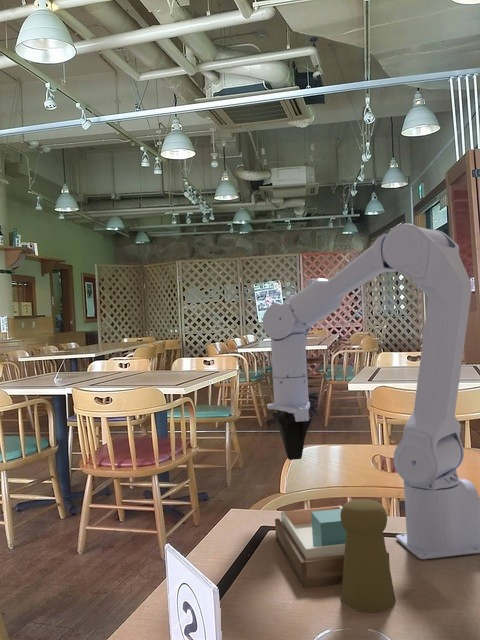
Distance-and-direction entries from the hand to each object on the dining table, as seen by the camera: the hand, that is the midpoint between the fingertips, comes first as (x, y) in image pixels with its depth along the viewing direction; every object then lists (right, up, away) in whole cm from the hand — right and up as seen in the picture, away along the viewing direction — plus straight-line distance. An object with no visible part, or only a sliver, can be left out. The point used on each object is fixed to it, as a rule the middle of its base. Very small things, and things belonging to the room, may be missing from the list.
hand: (294, 458), depth 95 cm
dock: (+3, -9, -17) cm, 19 cm away
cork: (+6, -9, -30) cm, 32 cm away
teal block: (+3, -7, -21) cm, 22 cm away
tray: (+3, -8, -17) cm, 19 cm away
